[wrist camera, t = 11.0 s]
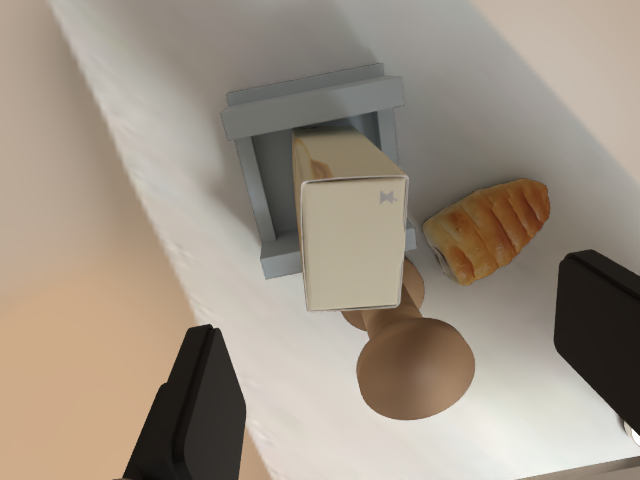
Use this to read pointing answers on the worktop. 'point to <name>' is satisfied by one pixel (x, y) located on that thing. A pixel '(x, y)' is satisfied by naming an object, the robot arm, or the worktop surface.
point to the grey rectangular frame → (276, 144)
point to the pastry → (487, 228)
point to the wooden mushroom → (410, 357)
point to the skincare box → (348, 219)
